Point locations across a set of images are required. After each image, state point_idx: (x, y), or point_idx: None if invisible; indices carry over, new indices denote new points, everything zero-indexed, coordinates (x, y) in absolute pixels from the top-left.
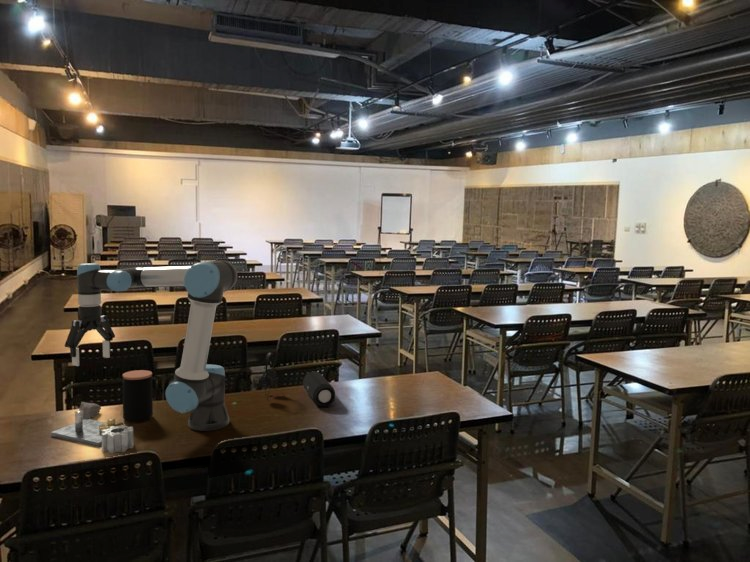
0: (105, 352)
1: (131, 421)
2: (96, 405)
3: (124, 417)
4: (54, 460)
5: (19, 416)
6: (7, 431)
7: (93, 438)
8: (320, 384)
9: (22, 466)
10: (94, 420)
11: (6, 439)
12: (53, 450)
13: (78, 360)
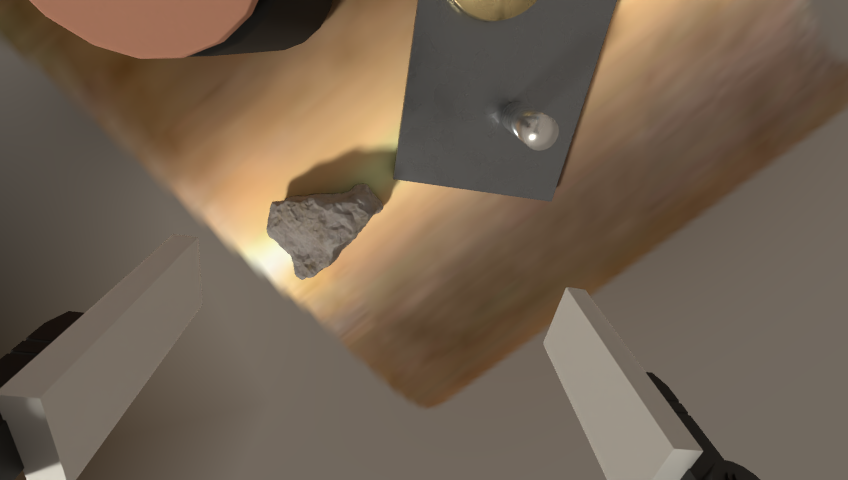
0: (170, 307)
1: None
2: (308, 202)
3: (327, 11)
4: (766, 15)
5: (412, 393)
6: (528, 338)
7: None
8: None
9: (805, 92)
10: (400, 132)
11: None
12: (671, 91)
13: (597, 321)
